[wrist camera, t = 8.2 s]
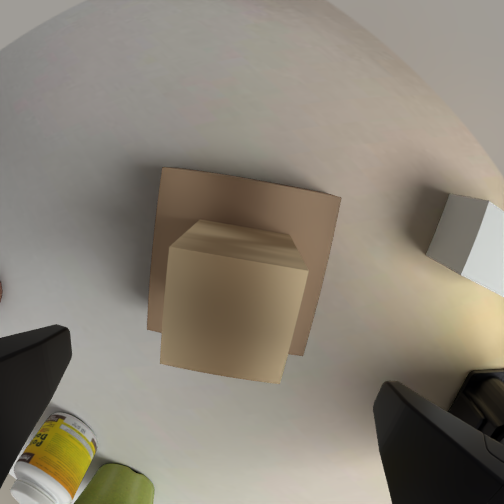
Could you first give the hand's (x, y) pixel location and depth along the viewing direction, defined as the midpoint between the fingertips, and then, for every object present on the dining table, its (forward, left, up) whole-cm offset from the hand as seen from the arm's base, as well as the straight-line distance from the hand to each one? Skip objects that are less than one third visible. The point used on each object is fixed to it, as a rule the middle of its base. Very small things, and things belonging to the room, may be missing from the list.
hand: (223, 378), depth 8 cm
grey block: (-12, -4, -10) cm, 16 cm away
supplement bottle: (+13, +20, -12) cm, 27 cm away
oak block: (0, 0, -9) cm, 9 cm away
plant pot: (+8, +26, -12) cm, 30 cm away
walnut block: (0, 0, -12) cm, 12 cm away
